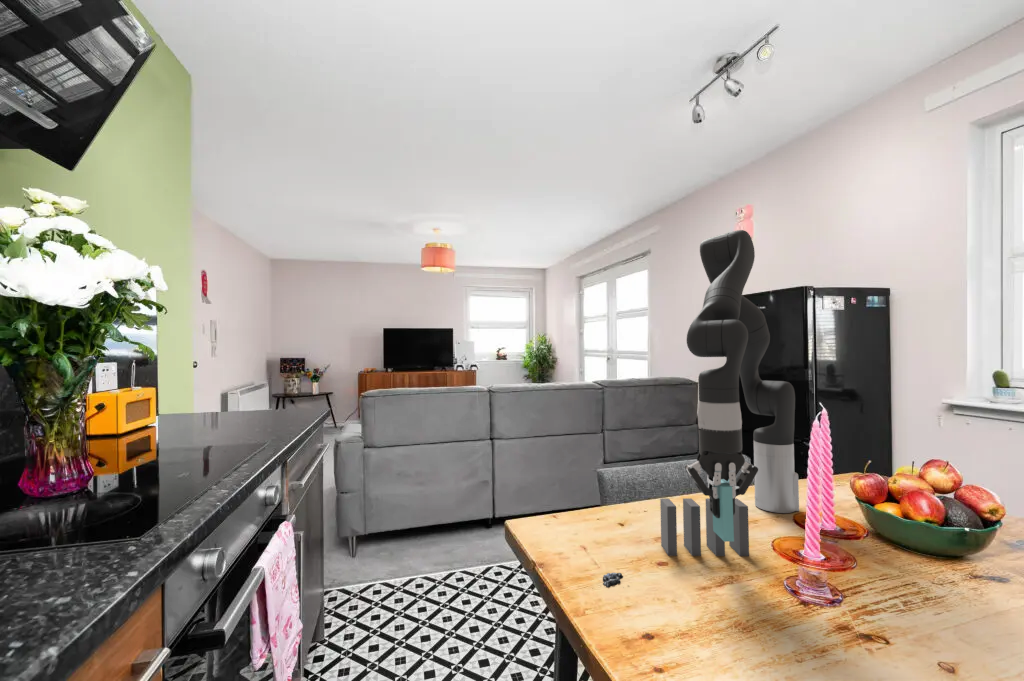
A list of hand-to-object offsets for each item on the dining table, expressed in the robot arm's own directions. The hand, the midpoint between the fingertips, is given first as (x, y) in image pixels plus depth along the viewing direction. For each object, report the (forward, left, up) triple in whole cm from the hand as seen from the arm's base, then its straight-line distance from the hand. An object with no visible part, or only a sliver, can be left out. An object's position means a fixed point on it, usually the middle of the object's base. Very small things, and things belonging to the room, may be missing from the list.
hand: (722, 516), depth 87 cm
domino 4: (-7, -9, -10) cm, 15 cm away
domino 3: (-2, -9, -10) cm, 14 cm away
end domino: (0, 0, -4) cm, 4 cm away
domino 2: (+3, -9, -10) cm, 14 cm away
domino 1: (+8, -9, -10) cm, 16 cm away
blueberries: (+21, +4, -11) cm, 24 cm away
